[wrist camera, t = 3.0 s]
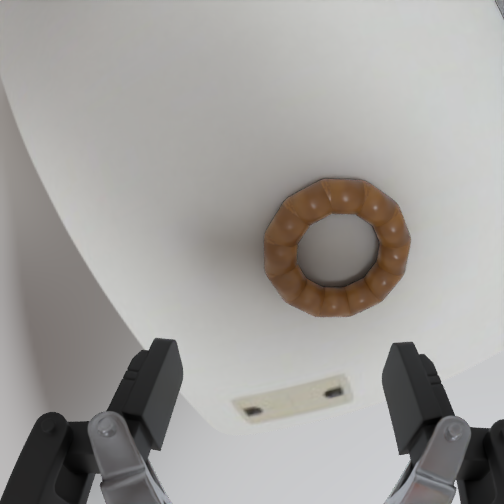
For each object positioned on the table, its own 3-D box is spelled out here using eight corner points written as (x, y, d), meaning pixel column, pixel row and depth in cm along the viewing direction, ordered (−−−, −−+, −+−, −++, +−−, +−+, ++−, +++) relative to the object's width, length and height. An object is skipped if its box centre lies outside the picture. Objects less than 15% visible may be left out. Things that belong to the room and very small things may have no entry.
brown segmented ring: (265, 305, 22) (264, 322, 20) (264, 174, 18) (262, 182, 16) (389, 304, 21) (397, 321, 20) (411, 180, 17) (424, 188, 16)
